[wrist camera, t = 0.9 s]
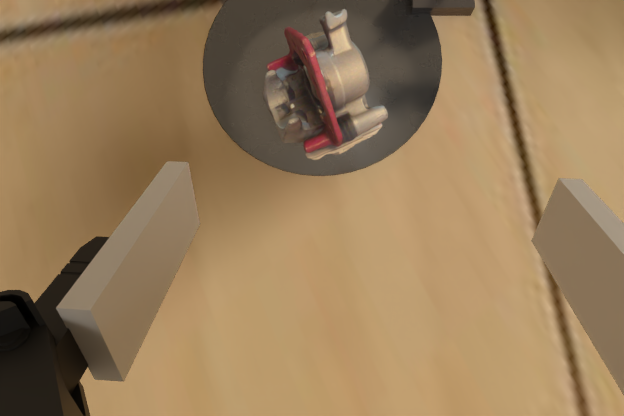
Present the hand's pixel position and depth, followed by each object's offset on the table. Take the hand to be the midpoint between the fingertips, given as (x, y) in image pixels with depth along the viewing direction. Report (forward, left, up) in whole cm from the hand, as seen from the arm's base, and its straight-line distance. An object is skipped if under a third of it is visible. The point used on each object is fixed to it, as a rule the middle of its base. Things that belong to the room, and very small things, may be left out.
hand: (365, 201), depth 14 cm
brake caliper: (+3, -14, -23) cm, 27 cm away
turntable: (+3, -19, -23) cm, 30 cm away
